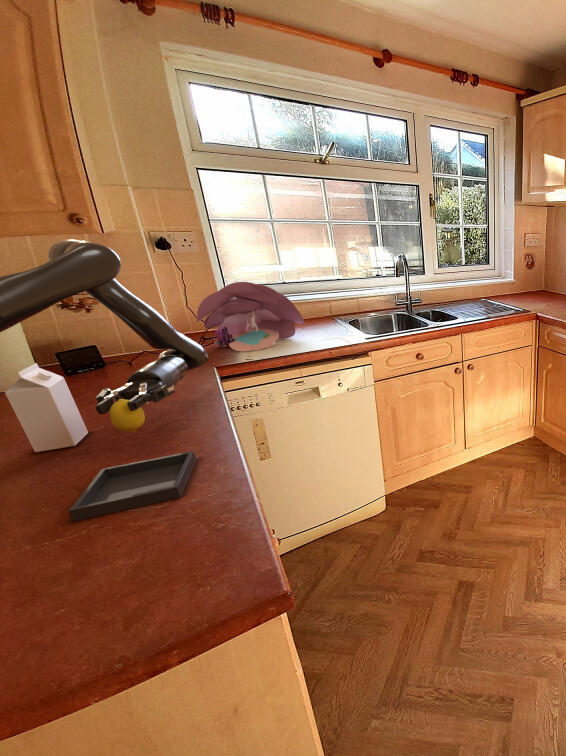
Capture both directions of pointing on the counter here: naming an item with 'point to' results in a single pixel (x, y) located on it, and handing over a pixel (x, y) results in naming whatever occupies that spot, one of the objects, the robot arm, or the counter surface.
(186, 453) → the dark grey tray
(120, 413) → the lemon
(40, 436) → the milk carton
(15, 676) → the counter surface
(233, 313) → the purple shell playset
